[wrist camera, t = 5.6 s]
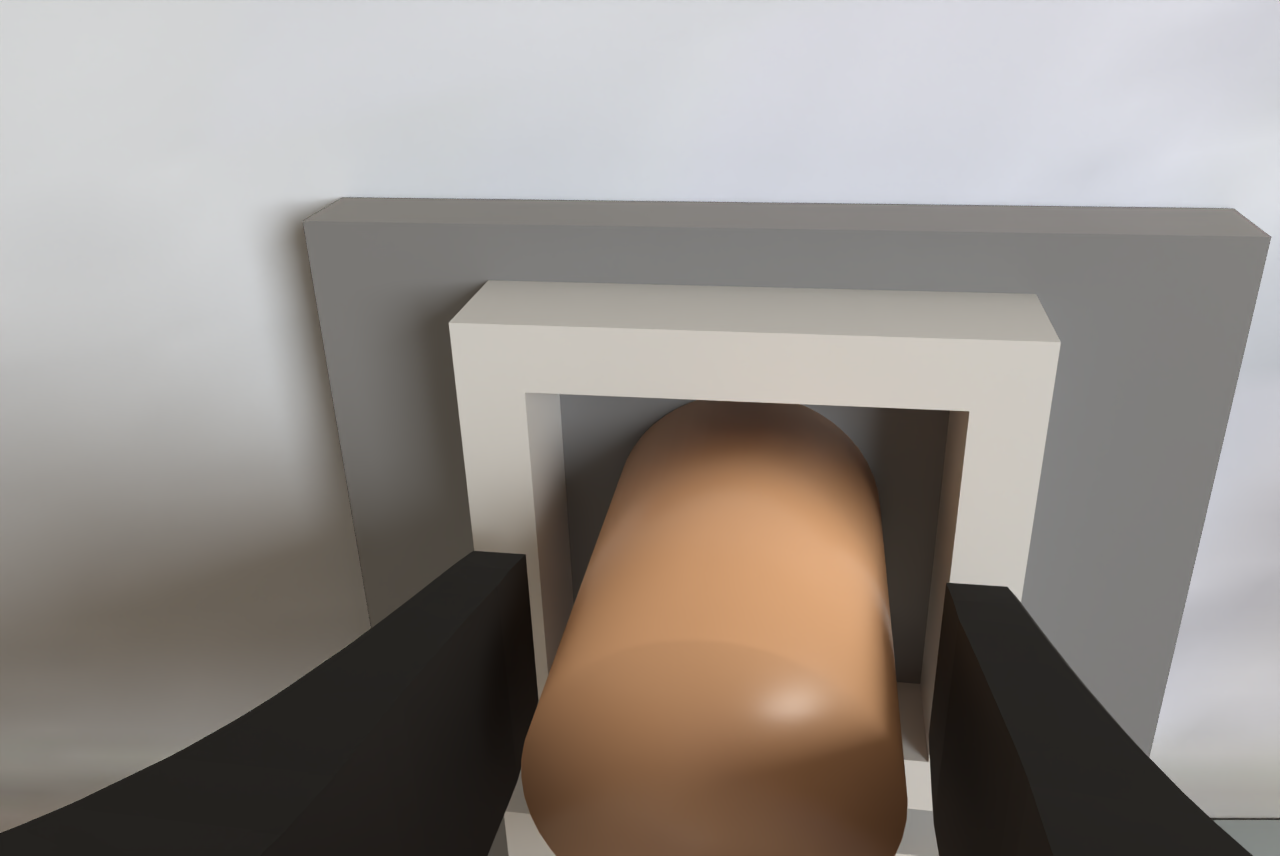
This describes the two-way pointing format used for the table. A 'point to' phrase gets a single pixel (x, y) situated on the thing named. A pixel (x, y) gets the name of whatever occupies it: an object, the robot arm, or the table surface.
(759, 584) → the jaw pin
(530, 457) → the housing
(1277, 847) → the lid
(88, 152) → the table surface
